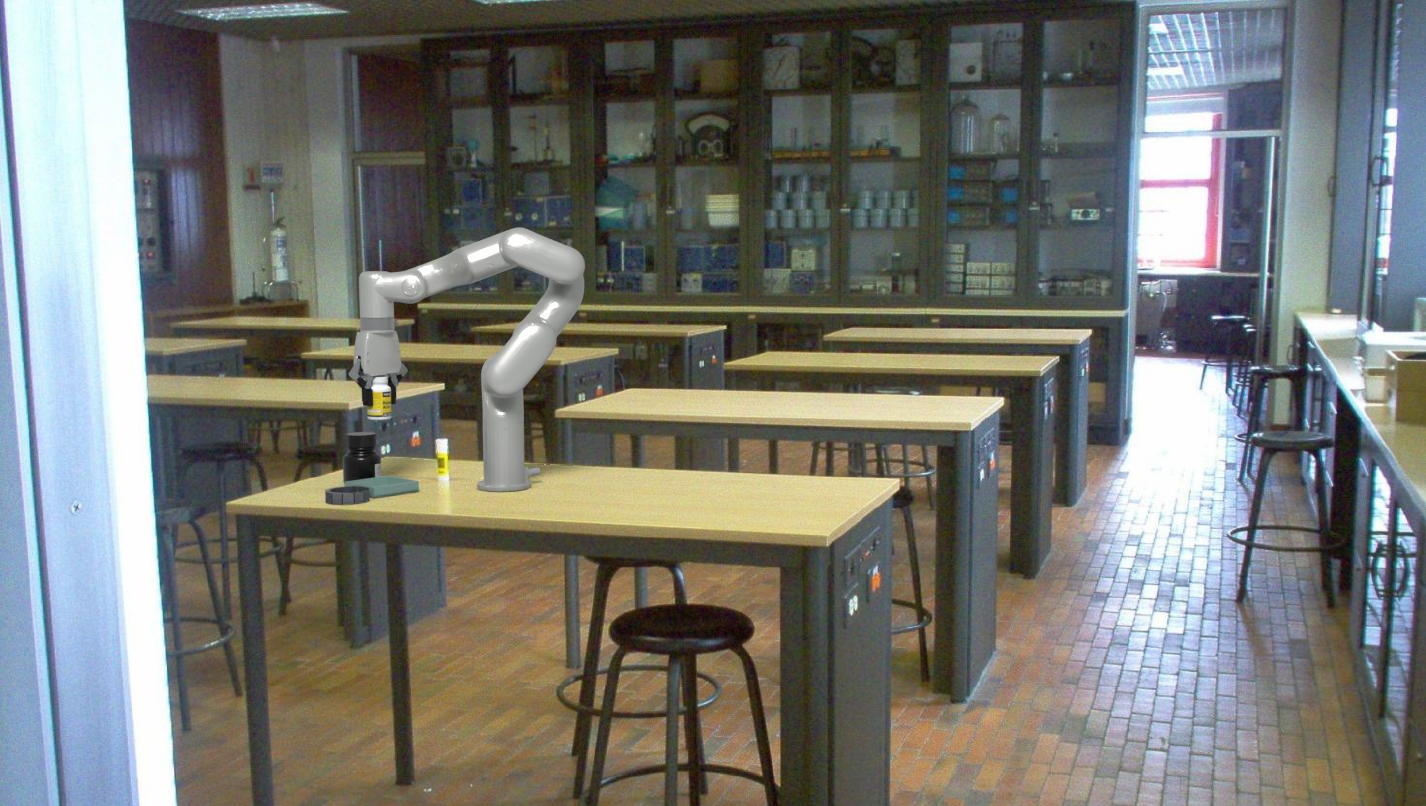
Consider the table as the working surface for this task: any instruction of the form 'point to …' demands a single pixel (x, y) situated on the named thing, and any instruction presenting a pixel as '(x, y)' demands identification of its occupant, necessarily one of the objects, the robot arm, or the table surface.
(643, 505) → the table surface
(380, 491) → the tray
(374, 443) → the ink bottle
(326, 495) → the collar
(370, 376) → the robot arm
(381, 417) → the supplement bottle
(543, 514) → the table surface
